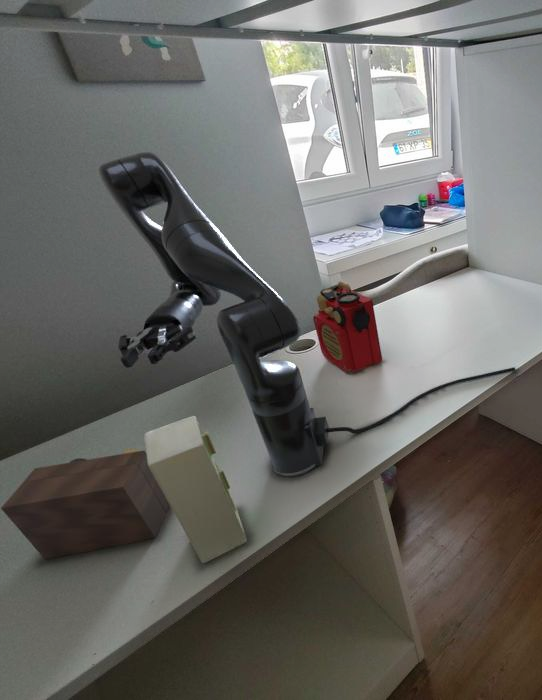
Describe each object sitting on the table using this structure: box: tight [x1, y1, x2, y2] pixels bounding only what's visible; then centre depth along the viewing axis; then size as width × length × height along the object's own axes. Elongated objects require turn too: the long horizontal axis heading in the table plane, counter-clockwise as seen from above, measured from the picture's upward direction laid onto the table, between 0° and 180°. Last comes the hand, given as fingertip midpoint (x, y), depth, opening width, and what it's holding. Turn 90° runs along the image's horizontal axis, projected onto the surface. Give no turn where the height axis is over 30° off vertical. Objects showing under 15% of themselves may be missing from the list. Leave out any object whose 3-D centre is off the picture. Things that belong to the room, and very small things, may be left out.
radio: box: [312, 280, 383, 372], centre depth 112 cm, size 16×10×20 cm, turn 45°
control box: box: [0, 449, 171, 560], centre depth 72 cm, size 16×11×12 cm
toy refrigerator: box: [143, 415, 248, 564], centre depth 67 cm, size 8×7×21 cm
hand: (139, 361), depth 82 cm, fingers open, 3 cm apart
